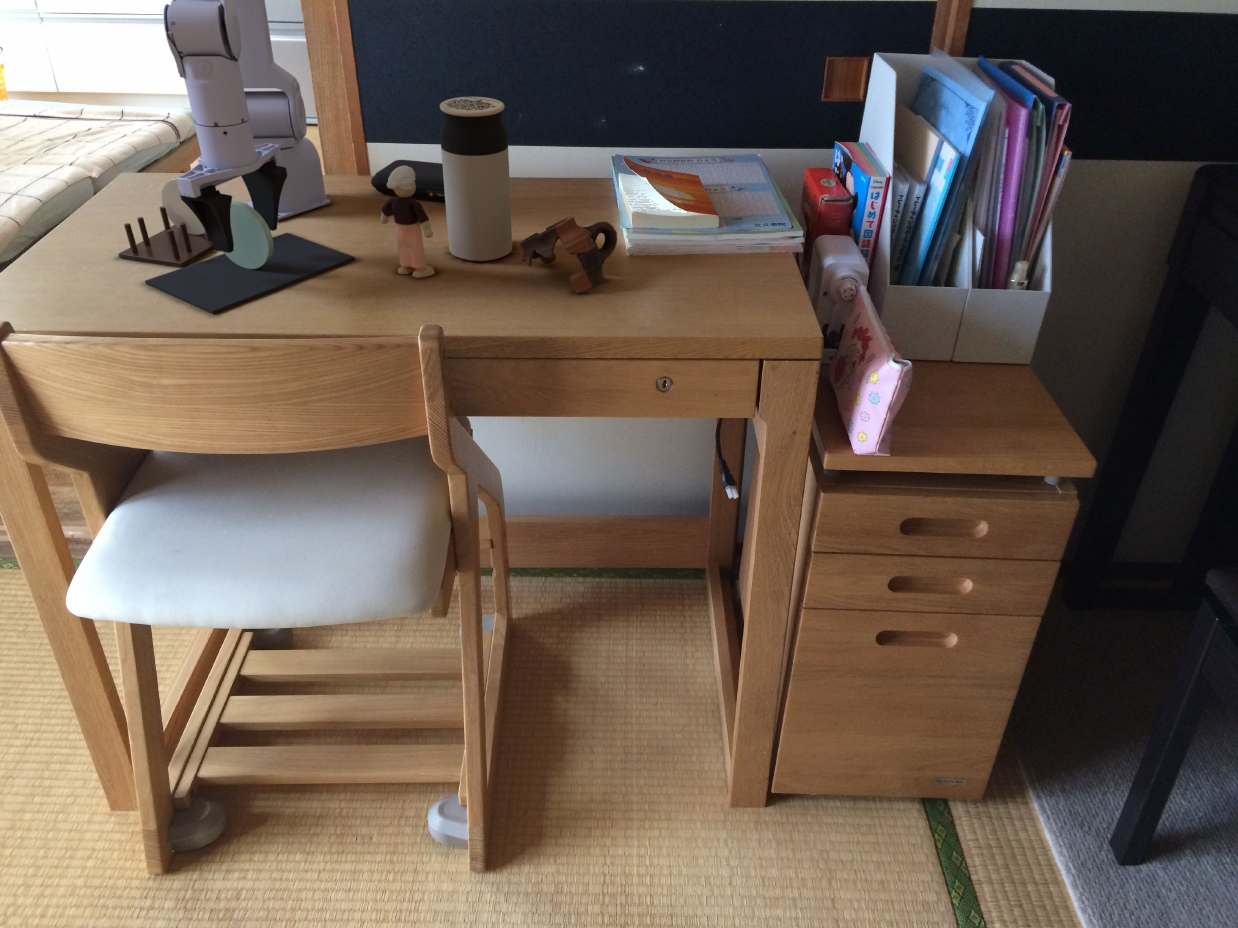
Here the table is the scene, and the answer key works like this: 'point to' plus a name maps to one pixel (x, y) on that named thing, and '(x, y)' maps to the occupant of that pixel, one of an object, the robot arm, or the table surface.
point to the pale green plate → (249, 237)
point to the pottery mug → (574, 249)
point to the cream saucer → (179, 209)
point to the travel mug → (476, 178)
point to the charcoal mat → (248, 274)
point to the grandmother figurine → (408, 222)
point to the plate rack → (167, 244)
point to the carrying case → (426, 178)
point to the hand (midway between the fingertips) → (247, 239)
